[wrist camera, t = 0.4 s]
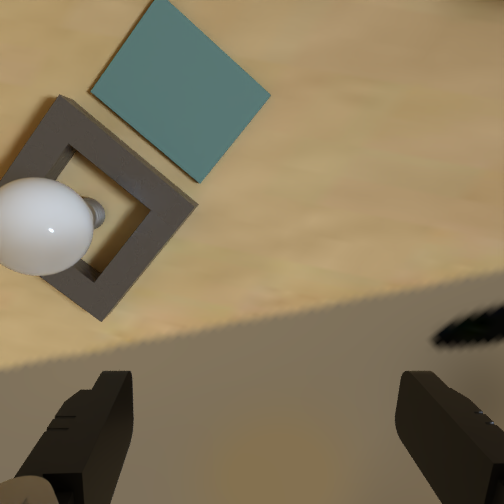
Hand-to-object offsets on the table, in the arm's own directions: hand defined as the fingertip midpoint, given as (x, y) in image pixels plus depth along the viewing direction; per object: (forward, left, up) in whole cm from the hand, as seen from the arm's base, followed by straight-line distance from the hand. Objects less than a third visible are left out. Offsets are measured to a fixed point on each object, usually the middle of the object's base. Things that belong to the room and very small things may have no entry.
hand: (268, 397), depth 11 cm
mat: (-5, -13, -22) cm, 26 cm away
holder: (+7, -13, -22) cm, 26 cm away
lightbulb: (+7, -13, -22) cm, 26 cm away
